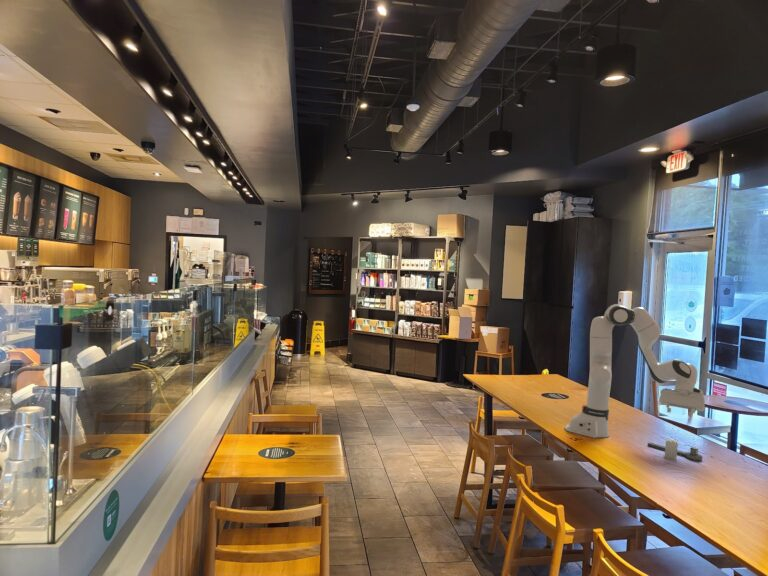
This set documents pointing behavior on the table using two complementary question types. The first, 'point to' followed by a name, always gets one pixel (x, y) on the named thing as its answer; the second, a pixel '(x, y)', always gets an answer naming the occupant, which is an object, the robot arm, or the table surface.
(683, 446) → the table surface
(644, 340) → the robot arm
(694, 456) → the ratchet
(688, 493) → the table surface
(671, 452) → the tan wooden block
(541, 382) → the table surface
